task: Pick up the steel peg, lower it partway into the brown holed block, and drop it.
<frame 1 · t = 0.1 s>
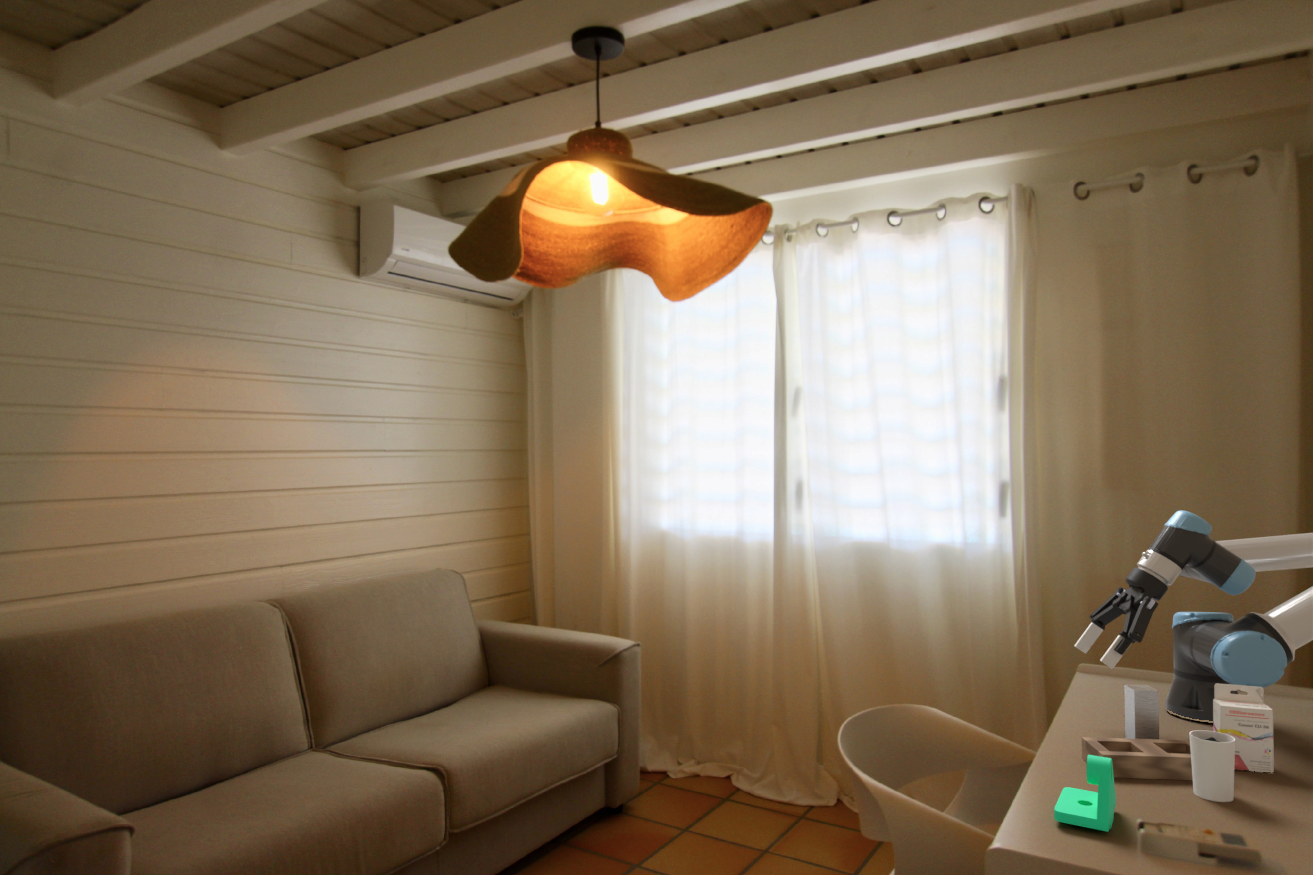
hand: (1092, 657, 183), 15 cm above the table, tool tilted 35°, fingers open, 13 cm apart
brown holed block: (1148, 769, 159), on the table
camera mount: (1085, 820, 137), on the table
white cup: (1213, 796, 146), on the table
steel peg: (1142, 748, 170), on the table
ink cartridge box: (1243, 768, 160), on the table
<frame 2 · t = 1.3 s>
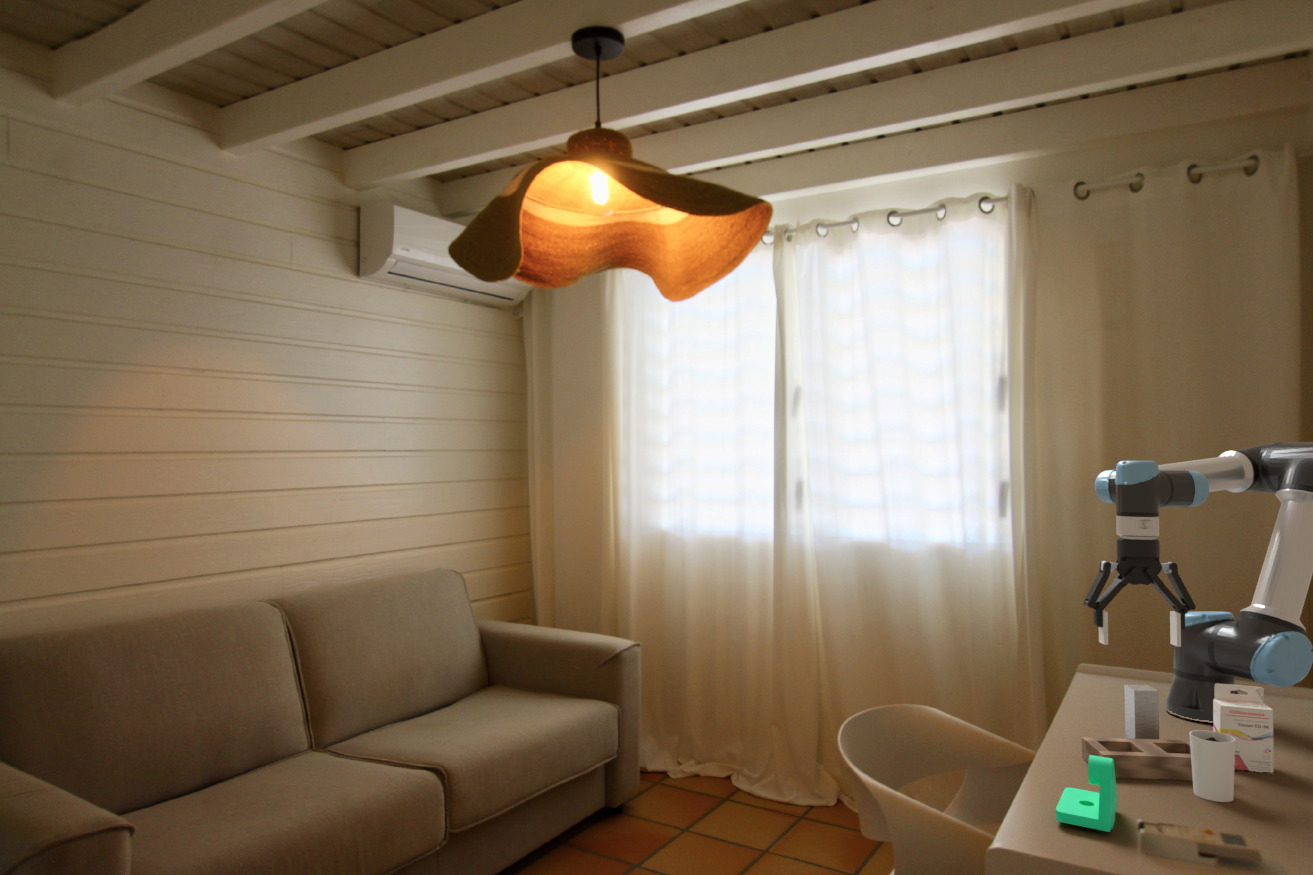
hand: (1139, 644, 171), 20 cm above the table, tool pointing down, fingers open, 13 cm apart
nothing on the table moved.
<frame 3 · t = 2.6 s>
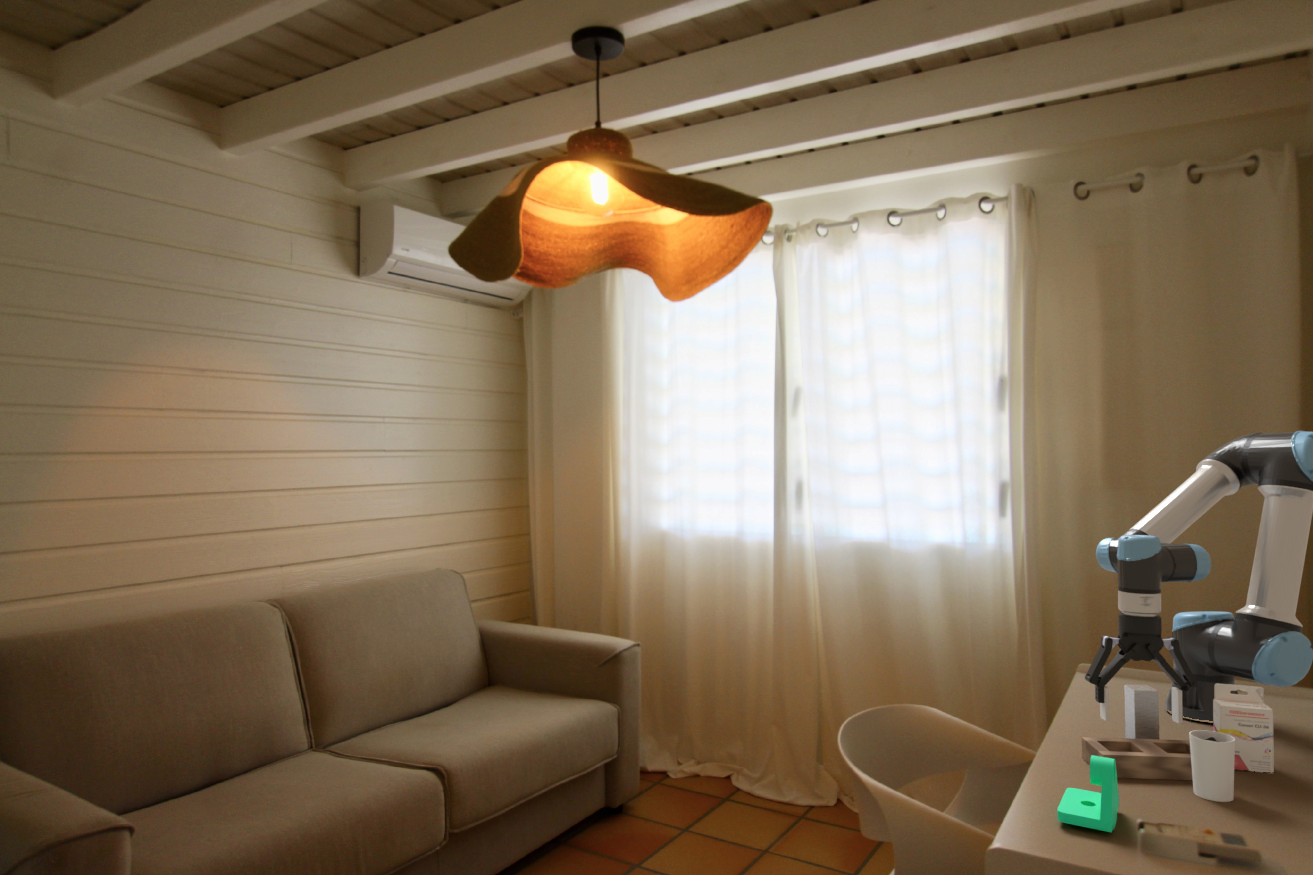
hand: (1140, 720, 170), 5 cm above the table, tool pointing down, fingers open, 13 cm apart
nothing on the table moved.
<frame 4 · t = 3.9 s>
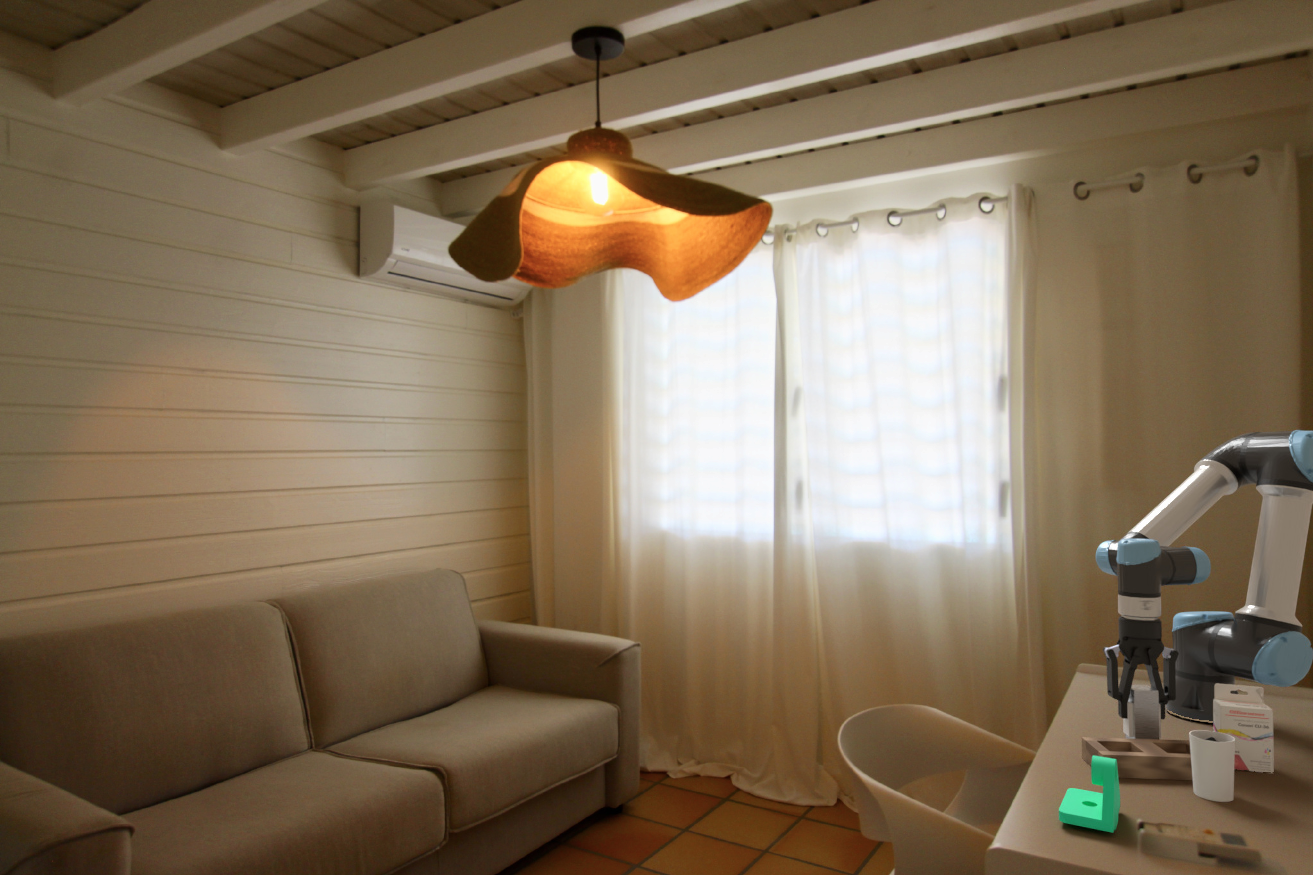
hand: (1142, 734, 170), 3 cm above the table, tool pointing down, fingers closed on steel peg, 4 cm apart
steel peg: (1142, 748, 170), on the table, touching gripper
everything else where it was.
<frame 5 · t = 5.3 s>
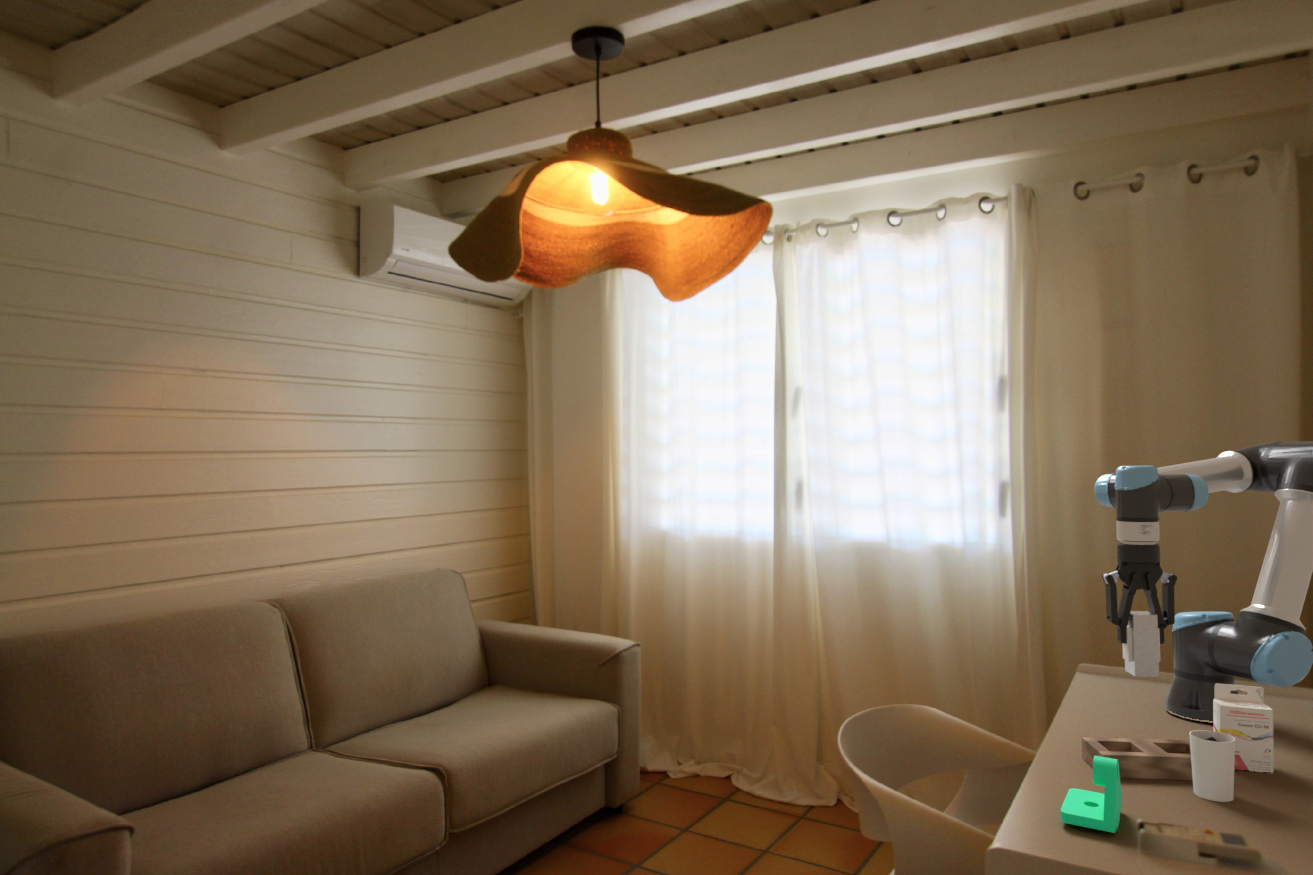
hand: (1141, 659, 171), 17 cm above the table, tool pointing down, fingers closed on steel peg, 4 cm apart
steel peg: (1141, 673, 171), point 15 cm above the table, touching gripper
everything else where it was.
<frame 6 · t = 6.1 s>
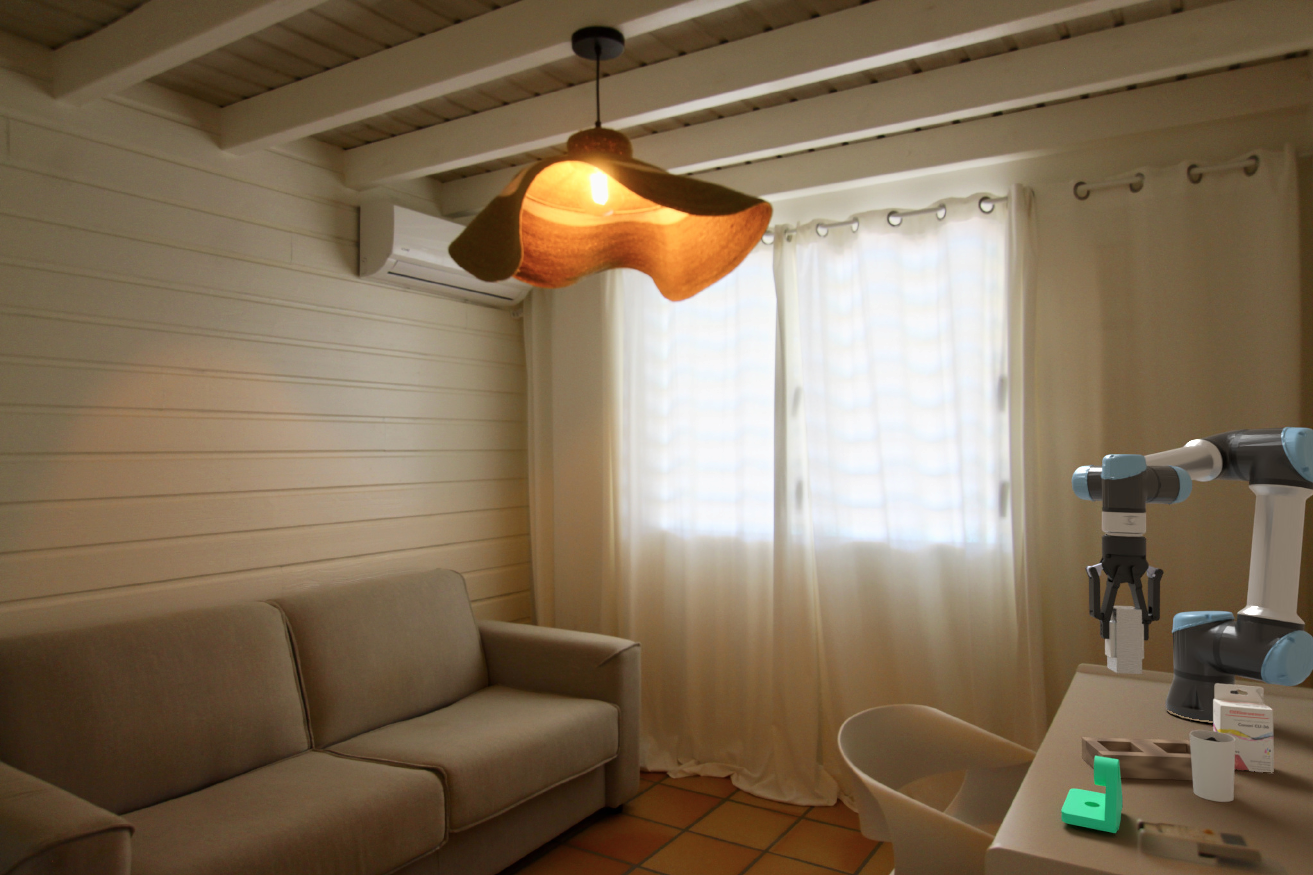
hand: (1124, 656, 164), 20 cm above the table, tool pointing down, fingers closed on steel peg, 4 cm apart
steel peg: (1124, 670, 164), point 17 cm above the table, touching gripper
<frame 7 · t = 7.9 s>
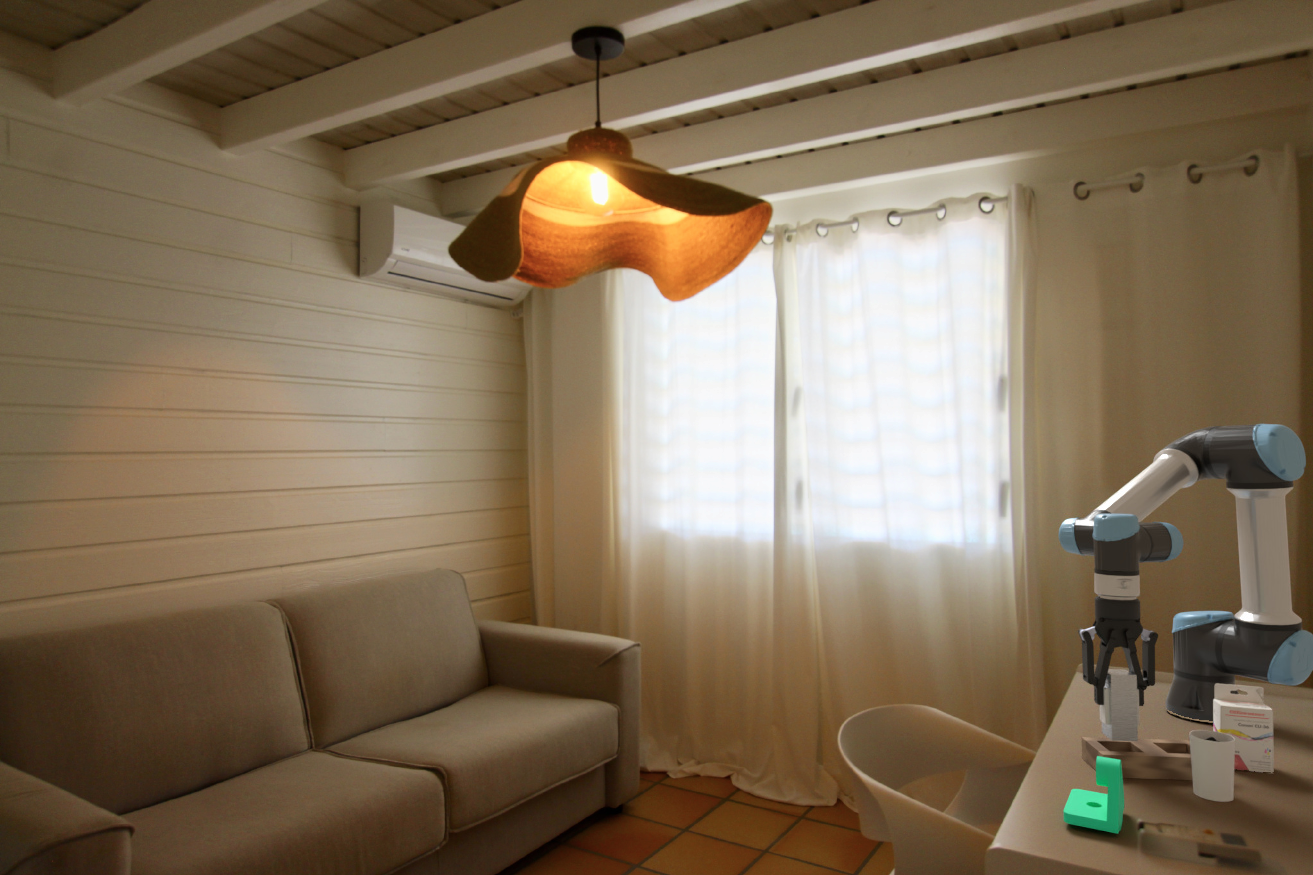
hand: (1119, 722, 159), 8 cm above the table, tool pointing down, fingers closed on steel peg, 4 cm apart
steel peg: (1119, 737, 159), point 6 cm above the table, touching gripper
when the fingers open (5 cm above the table, at t = 9.1 s): steel peg drops 2 cm, resting in brown holed block.
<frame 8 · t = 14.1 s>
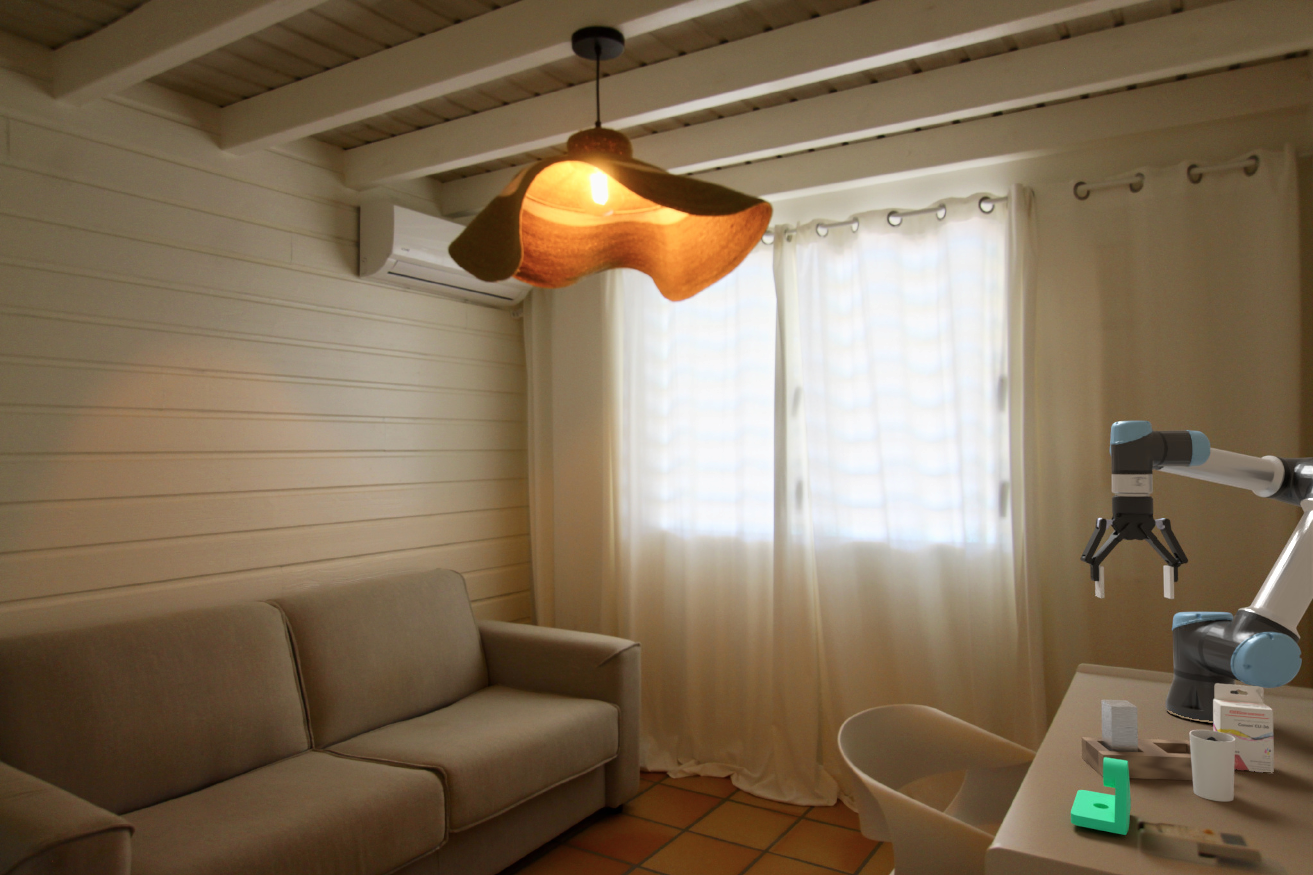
hand: (1134, 597, 178), 29 cm above the table, tool pointing down, fingers open, 13 cm apart
steel peg: (1120, 768, 159), resting in brown holed block
at the end: steel peg 0.0 cm from the target spot on the brown holed block, point 0.0 cm above the brown holed block's base; steel peg tilted 0°; the gripper is holding nothing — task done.
